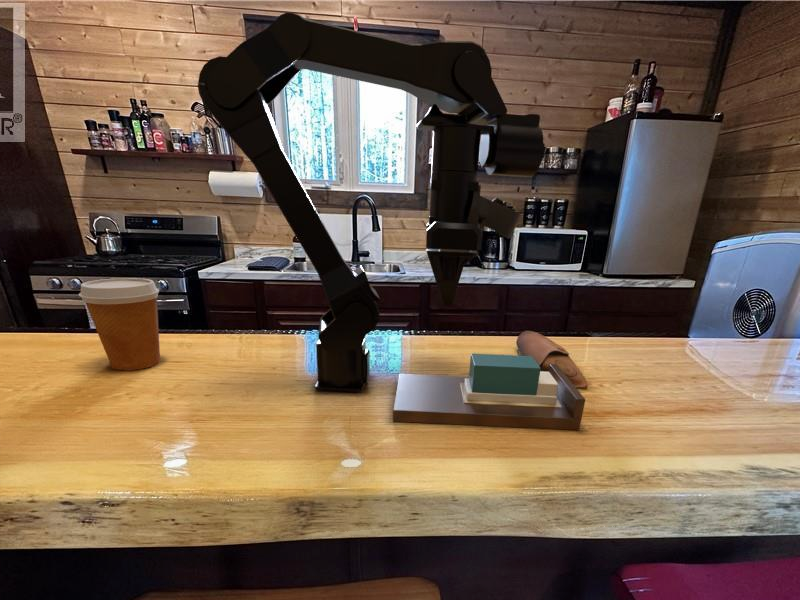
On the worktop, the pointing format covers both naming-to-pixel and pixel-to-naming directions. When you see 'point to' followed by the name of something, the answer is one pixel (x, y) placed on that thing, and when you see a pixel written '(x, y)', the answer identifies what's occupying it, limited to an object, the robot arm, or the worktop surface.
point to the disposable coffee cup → (125, 320)
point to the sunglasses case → (549, 356)
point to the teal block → (509, 380)
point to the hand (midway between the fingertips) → (446, 299)
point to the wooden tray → (483, 404)
